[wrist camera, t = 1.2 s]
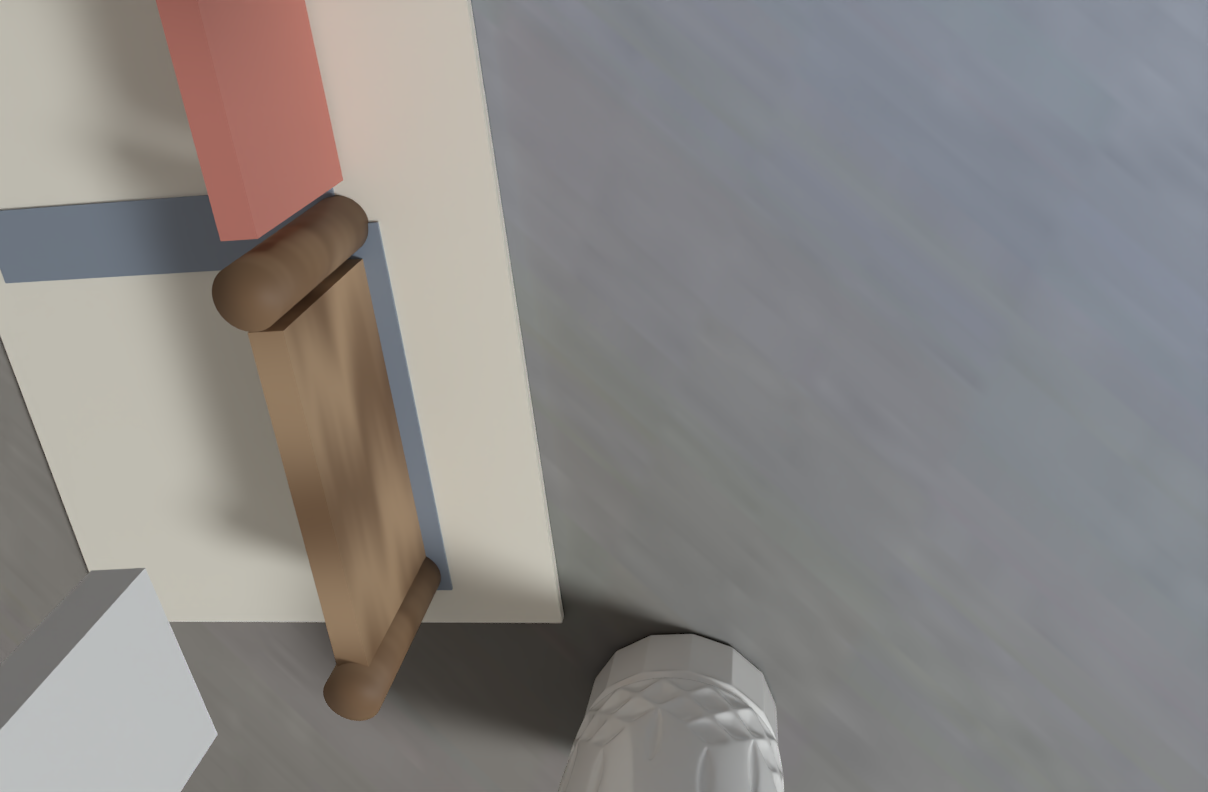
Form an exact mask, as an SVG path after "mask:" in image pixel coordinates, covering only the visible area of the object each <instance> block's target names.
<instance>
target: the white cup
mask: <svg viewBox="0 0 1208 792" xmlns="http://www.w3.org/2000/svg"><path fill="white" fill-rule="evenodd" d="M558 792H784V779H783V770H782V764H781V758H780V753H779V749H778V732H777V713H776V705H775V702H774V700H773V697H772V695H771V692H770V690H769V688H768V685H767V683H766V680H765V678H764V675H763V673H762V672H761V671H760V670H759V669H757V668H756V667H755V666H754V665H753V664H752V663H750V662H749V661H748V660H747V659H746V658H745V657H743V656H742V655H741V654H740V653H739V652H738V651H736V650H735V649H734V648H733V647H730V646H728V645H725V644H722V643H719V642H716V641H713V640H710V639H707V638H704V637H701V636H698V635H695V634H669V635H650V636H648V637H646V638H644V639H641V640H639V641H637V642H635V643H633V644H631V645H628V646H626V647H624V648H622V649H620V650H618V651H616V652H615V653H614V655H613V656H612V657H611V659H610V660H609V661H608V663H607V664H606V665H605V666H604V668H603V669H602V670H601V672H600V673H599V674H598V676H597V677H596V679H595V681H594V685H593V688H592V692H591V695H590V699H589V702H588V706H587V709H586V713H585V717H584V720H583V722H582V724H581V726H580V728H579V731H578V733H577V735H576V738H575V740H574V743H573V746H572V749H571V753H570V756H569V760H568V763H567V766H566V769H565V771H564V774H563V776H562V779H561V782H560V785H559V788H558Z"/></svg>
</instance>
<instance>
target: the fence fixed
mask: <svg viewBox="0 0 1208 792" xmlns="http://www.w3.org/2000/svg"><path fill="white" fill-rule="evenodd" d="M368 223H369V221H368V217H367V215H366V213H365V211H364V210H363V208H362V207H361V206H360V205H359V204H358V203H357V202H355V201H354V200H352V199H350V198H348V197H345V196H341V195H334V196H331V197H327V198H325V199H323V200H321V201H320V202H318V203H317V204H316V205H314V206H313V207H311V208H310V209H308V210H307V211H305V212H304V213H303V214H301V215H300V216H298V217H297V218H295V219H294V220H293V221H291V222H290V223H288V224H287V225H285V226H284V227H283V228H281V229H280V230H278V231H277V232H275V233H274V234H273V235H271V236H270V237H268V238H267V239H265V240H264V241H262V242H261V243H260V244H258V245H257V246H255V247H254V248H252V249H251V250H250V251H248V252H247V253H245V254H244V255H242V256H241V257H240V258H238V259H237V260H235V261H234V262H232V263H231V264H230V265H228V266H227V267H225V268H224V269H222V270H221V271H220V272H219V273H218V274H217V275H216V277H215V279H214V281H213V285H212V298H213V302H214V305H215V307H216V309H217V311H218V312H219V314H220V315H221V316H222V317H223V318H224V319H225V320H226V321H227V322H228V323H229V324H231V325H232V326H234V327H236V328H238V329H240V330H243V331H248V337H249V340H250V344H251V348H252V352H253V355H254V359H255V363H256V366H257V370H258V374H259V378H260V381H261V385H262V389H263V392H264V396H265V400H266V404H267V407H268V411H269V415H270V418H271V422H272V426H273V430H274V433H275V437H276V441H277V445H278V448H279V452H280V456H281V459H282V463H283V467H284V471H285V474H286V478H287V482H288V485H289V489H290V493H291V497H292V500H293V504H294V508H295V511H296V515H297V519H298V523H299V526H300V530H301V534H302V537H303V541H304V545H305V549H306V552H307V556H308V560H309V563H310V567H311V571H312V575H313V578H314V582H315V586H316V589H317V593H318V597H319V601H320V604H321V608H322V612H323V615H324V619H325V623H326V627H327V630H328V634H329V638H330V642H331V645H332V649H333V653H334V656H335V660H336V666H335V668H334V670H333V671H332V673H331V675H330V677H329V678H328V680H327V682H326V684H325V686H324V690H323V694H324V698H325V701H326V703H327V704H328V706H329V707H330V708H331V709H332V710H333V711H334V712H335V713H337V714H338V715H340V716H342V717H344V718H346V719H350V720H355V721H362V720H367V719H370V718H372V717H374V716H375V715H376V714H377V713H378V711H379V710H380V708H381V705H382V703H383V701H384V699H385V697H386V695H387V693H388V691H389V689H390V687H391V685H392V683H393V680H394V678H395V676H396V674H397V672H398V670H399V668H400V666H401V664H402V662H403V660H404V658H405V655H406V653H407V651H408V649H409V647H410V645H411V643H412V641H413V639H414V637H415V635H416V633H417V630H418V628H419V626H420V624H421V622H422V620H423V618H424V616H425V614H426V612H427V610H428V607H429V605H430V603H431V601H432V599H433V597H434V595H435V593H436V591H437V589H438V587H439V585H440V582H441V574H440V570H439V568H438V567H437V565H436V564H435V563H434V562H433V561H432V560H431V559H430V558H428V557H426V554H425V549H424V544H423V540H422V535H421V530H420V525H419V521H418V516H417V511H416V507H415V502H414V497H413V493H412V488H411V483H410V478H409V474H408V469H407V464H406V460H405V455H404V450H403V445H402V441H401V436H400V431H399V427H398V422H397V417H396V413H395V408H394V403H393V398H392V394H391V389H390V384H389V380H388V375H387V370H386V366H385V361H384V356H383V351H382V347H381V342H380V337H379V333H378V328H377V323H376V319H375V314H374V309H373V304H372V300H371V295H370V290H369V286H368V281H367V276H366V272H365V267H364V262H363V259H349V260H347V259H348V258H349V257H350V256H351V255H353V254H354V253H355V252H356V251H357V250H358V249H359V248H361V247H362V246H363V244H364V243H365V241H366V239H367V236H368Z"/></svg>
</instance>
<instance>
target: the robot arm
mask: <svg viewBox="0 0 1208 792" xmlns="http://www.w3.org/2000/svg"><path fill="white" fill-rule="evenodd" d="M216 736H217V732H216V730H215V727H214V725H213V723H212V720H211V718H210V716H209V713H208V711H207V709H206V707H205V704H204V702H203V700H202V697H201V695H200V693H199V690H198V688H197V686H196V684H195V681H194V679H193V677H192V674H191V672H190V670H189V667H188V665H187V663H186V660H185V658H184V656H183V654H182V651H181V649H180V647H179V644H178V642H177V640H176V637H175V635H174V633H173V631H172V628H171V626H170V624H169V621H168V619H167V617H166V614H165V612H164V610H163V608H162V605H161V603H160V601H159V598H158V596H157V594H156V591H155V589H154V587H153V584H152V582H151V580H150V578H149V575H148V573H147V571H146V568H131V569H111V570H91V571H90V572H89V573H88V575H87V576H86V577H85V578H84V579H83V580H82V581H81V582H80V583H79V584H78V585H77V586H76V587H75V588H74V589H73V590H72V591H71V592H70V593H69V594H68V595H67V596H66V597H65V598H64V599H63V600H62V601H61V602H60V604H59V605H58V606H57V607H56V608H55V609H54V610H53V611H52V612H51V613H50V614H49V615H48V616H47V617H46V618H45V619H44V620H43V621H42V622H41V623H40V624H39V625H38V626H37V627H36V628H35V629H34V630H33V631H32V633H31V634H30V635H29V636H28V637H27V638H26V639H25V640H24V641H23V642H22V643H21V644H20V645H19V646H18V647H17V648H16V649H15V650H14V651H13V652H12V653H11V654H10V655H9V656H8V657H7V658H6V659H5V660H4V662H3V663H2V664H1V665H0V792H181V790H182V789H183V787H184V786H185V784H186V783H187V781H188V779H189V778H190V776H191V775H192V773H193V772H194V770H195V769H196V767H197V765H198V764H199V762H200V761H201V759H202V758H203V756H204V755H205V753H206V752H207V750H208V748H209V747H210V745H211V744H212V742H213V741H214V739H215V738H216Z"/></svg>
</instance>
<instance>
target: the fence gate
mask: <svg viewBox="0 0 1208 792" xmlns="http://www.w3.org/2000/svg"><path fill="white" fill-rule="evenodd" d="M156 4H157V7H158V11H159V15H160V19H161V22H162V26H163V30H164V33H165V37H166V41H167V44H168V48H169V52H170V56H171V59H172V63H173V67H174V70H175V74H176V78H177V82H178V85H179V89H180V93H181V96H182V100H183V104H184V107H185V111H186V115H187V119H188V122H189V126H190V130H191V133H192V137H193V141H194V144H195V148H196V152H197V156H198V159H199V163H200V167H201V170H202V174H203V178H204V182H205V185H206V189H207V193H208V196H209V200H210V204H211V207H212V211H213V215H214V219H215V222H216V226H217V230H218V233H219V237H220V241H233V240H248V239H258V238H260V237H261V236H263V235H264V234H266V233H267V232H269V231H270V230H271V229H273V228H274V227H276V226H277V225H279V224H280V223H282V222H283V221H285V220H286V219H287V218H289V217H290V216H292V215H293V214H295V213H296V212H298V211H299V210H301V209H302V208H303V207H305V206H306V205H308V204H309V203H311V202H312V201H314V200H315V199H317V198H318V197H320V196H321V195H322V194H324V193H325V192H327V191H328V190H330V189H331V188H333V187H334V186H336V185H337V184H338V183H340V182H341V181H343V177H342V172H341V167H340V163H339V158H338V153H337V149H336V144H335V139H334V135H333V130H332V125H331V120H330V116H329V111H328V106H327V102H326V97H325V92H324V88H323V83H322V78H321V74H320V69H319V64H318V60H317V55H316V50H315V46H314V41H313V36H312V32H311V27H310V22H309V18H308V13H307V8H306V4H305V0H156Z"/></svg>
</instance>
